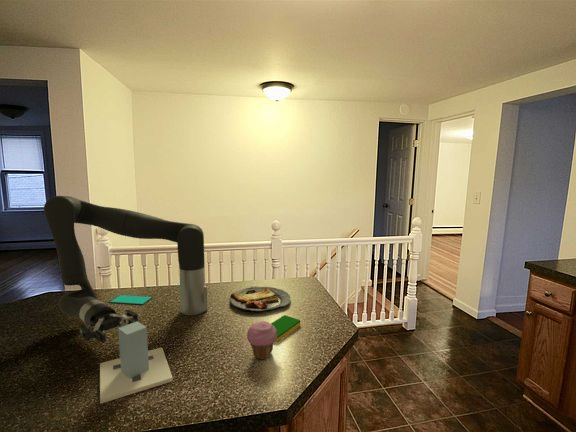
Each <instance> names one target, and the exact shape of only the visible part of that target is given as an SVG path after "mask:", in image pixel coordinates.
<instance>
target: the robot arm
mask: <svg viewBox="0 0 576 432" xmlns="http://www.w3.org/2000/svg"><path fill="white" fill-rule="evenodd" d="M43 213H44V216H45V219H46V221H47V224H48V226H49V229H50V231H51V232H50V233H51V236H52V238H53V242H54V246H55V249H56V252H57V257H58V263H59V270H60V275H61V282H62V284H63V285H64V286H69V287H70V286H79V287H80V289H79V290H75V291H71V292H68V293H65V294H63V295H62V296H61V297H60V299H59V301H58V307H59V310H61V312H62V314H64V315H66V316H69V317H73V318H79V319H80V320H81V321H82V322H83V323H82V324H79V334H80V336H81V337H82V339H83V340H84V341H86V342H88V341H90V340H91V339H94V340H97V341H98V342H102V343H105V342H106V341H107V340H106V339H107V338H106V334H105V333H104V332H106V331H109V330H111V329H115V328H120V327H123V326H126V325H129V324H131V323H134V322H137V321H138V322H139V317H138V313H137V312H134V311H132V310H130V309H126V310H125V312H124V313H117V311H116V310H115V309H114V308H113V307H111V306H110V305H108V304H106V303H105V302H103V301H100V299H97V295H96V292H95V291H94V289H93V287H92V285H91V282H90V281H89V279H88V275H87V268H86V262H85V258H84V255H83V252H82V250H81V247H80V245H79V243H78V240H77V235H76V231H75V224H80V225H81V224H82V225H88V226H94V227H97V228H100V229H102V230H105V231H107V232H110V233H113V234H116V235H120V236H124V237H128V238H133V239H141V240H166V241H171V242H174V243H176V244H177V261H178V268H179V271H178V273H179V275H178V276H179V295H180V296H179V299H180V312H181V314H183V315H186V316H196V315H201V314H202V313H204V312H206V311H208V287H207V286H206V273H205V271H206V270H205V267H206V266H205V236H204V230H203V229H202V228H201V227H200V226H199V225H197V224H195V223H187V222H178V221H171V220H167V219H163V218H162V217H161V218H160V217H157V216H153V215H150V214H146V213H142V212H139V211H134V210H128V209H125V208H117V207H112V206H111V207H110V206H102V205H97V204H94V203H90V202H87V201H85V200H81V199H79V198H77V197H73V196H69V195H55V196H52V197H49V198H48V200H46V201H45V204H44V206H43ZM90 330H91V331H90Z"/></svg>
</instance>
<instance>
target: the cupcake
mask: <svg viewBox="0 0 576 432" xmlns="http://www.w3.org/2000/svg"><path fill="white" fill-rule="evenodd" d="M246 338H247V341H248V343H249V344H250V346H251V349H252V354H253V357H255V358H257V359H259V360H260V359H261V360H267V359H269V357H270V356H271V354H272V353H273V349H274V343H276V342H275V340H276V338H277V330H276V328H275V327H274V326H273V325H272V324H271V323H270V322H269V321H265V320H261V321H257V322H254V323H252V324H251V325H249V328H247V332H246Z"/></svg>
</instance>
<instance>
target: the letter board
mask: <svg viewBox="0 0 576 432" xmlns="http://www.w3.org/2000/svg"><path fill="white" fill-rule="evenodd" d="M148 360H149V370H147V371H145V372H143V373H141V374H139V375H137V376H135V377H133V378H131V379H130V378H128V377H127V376H126V375H125V374H124V373H123V372H122V371H121V361H120V357H119V358H115V359H111V360H108V361H103V362H100V363H99V391H100V392H99V403H100V404H104V403H107V402H111V401H113V400H116V399H120V398H123V397H126V396H129V395H132V394H136V393H139V392H142V391H145V390H149V389H152V388H156V387H159V386H161V385H165V384H168V383H171V382H173V380H174V379H173V375H172V371H171V369H170V366H169V364H168V363H169V362H168V361H167V358H166V354H165V352H164V350H163V347H158V348H154V349H151V350H148Z"/></svg>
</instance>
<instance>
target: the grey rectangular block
mask: <svg viewBox="0 0 576 432" xmlns="http://www.w3.org/2000/svg"><path fill="white" fill-rule="evenodd" d="M117 331H118V345H119V346H118V347H119V358H120V361H121V371H122V372H123V373H124V374H125V375H126V376H127V377H128V378H130V379H131V378H133V377H135V376H137V375H139V374H141V373H143V372H145V371H147V370H149V360H148V351H149V347H148V346H149V345H148V330H147V326H146V325H144V324H142V323H141V322H139V320H138V321H137V322H134V323H131V324H129V325H126V326H123V327H117Z"/></svg>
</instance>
